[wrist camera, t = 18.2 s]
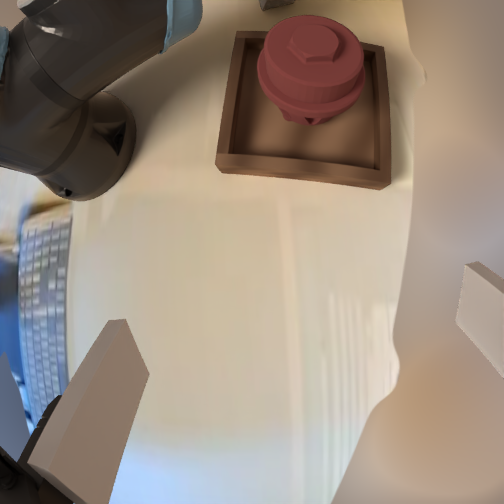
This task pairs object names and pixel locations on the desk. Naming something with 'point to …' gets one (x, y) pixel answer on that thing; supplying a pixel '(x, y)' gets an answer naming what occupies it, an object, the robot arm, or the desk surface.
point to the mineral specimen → (274, 3)
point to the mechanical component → (311, 68)
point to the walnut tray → (304, 128)
